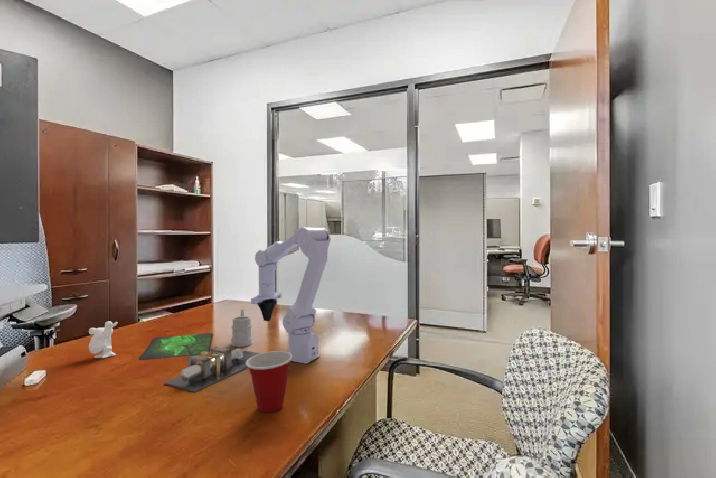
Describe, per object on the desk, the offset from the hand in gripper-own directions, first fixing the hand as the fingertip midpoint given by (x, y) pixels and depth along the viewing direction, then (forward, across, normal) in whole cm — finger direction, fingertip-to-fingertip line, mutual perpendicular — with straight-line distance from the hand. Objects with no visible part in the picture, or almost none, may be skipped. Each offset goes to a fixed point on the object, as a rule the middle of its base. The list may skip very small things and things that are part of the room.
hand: (267, 320), depth 134 cm
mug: (+10, -1, -13) cm, 16 cm away
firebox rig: (+10, +22, +2) cm, 25 cm away
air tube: (+9, +26, +2) cm, 28 cm away
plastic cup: (+10, +36, +31) cm, 49 cm away
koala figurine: (+10, +32, -43) cm, 55 cm away
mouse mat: (+10, +12, -31) cm, 35 cm away
